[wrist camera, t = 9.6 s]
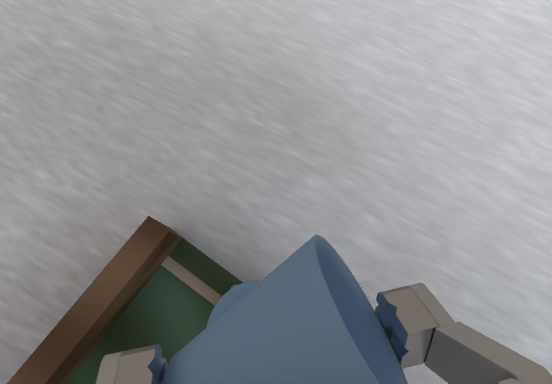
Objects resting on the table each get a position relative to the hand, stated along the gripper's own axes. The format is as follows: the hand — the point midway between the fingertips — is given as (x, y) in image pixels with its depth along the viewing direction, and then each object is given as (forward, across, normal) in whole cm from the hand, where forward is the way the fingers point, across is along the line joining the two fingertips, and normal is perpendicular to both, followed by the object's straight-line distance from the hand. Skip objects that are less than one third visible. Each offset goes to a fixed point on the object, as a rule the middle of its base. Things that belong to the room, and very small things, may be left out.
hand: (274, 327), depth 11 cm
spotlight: (+4, 0, +5) cm, 6 cm away
